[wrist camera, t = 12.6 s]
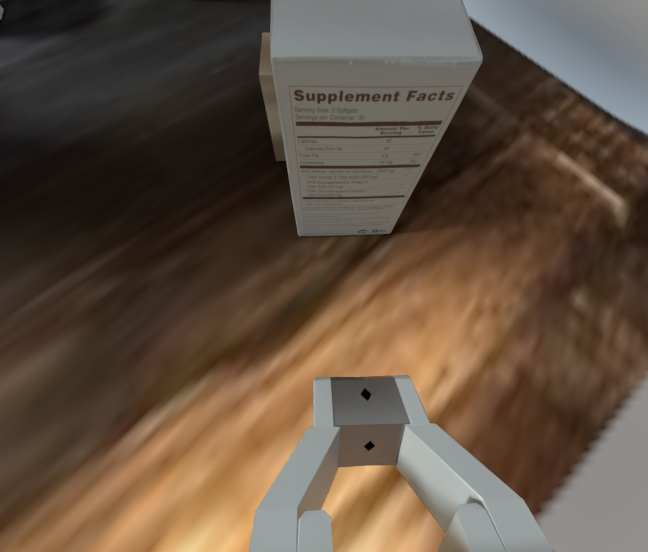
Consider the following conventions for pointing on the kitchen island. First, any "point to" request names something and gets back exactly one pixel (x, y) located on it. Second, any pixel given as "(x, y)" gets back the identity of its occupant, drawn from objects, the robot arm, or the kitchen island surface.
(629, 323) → the kitchen island surface
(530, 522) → the robot arm
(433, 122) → the supplement box
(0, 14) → the white cup
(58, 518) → the kitchen island surface
